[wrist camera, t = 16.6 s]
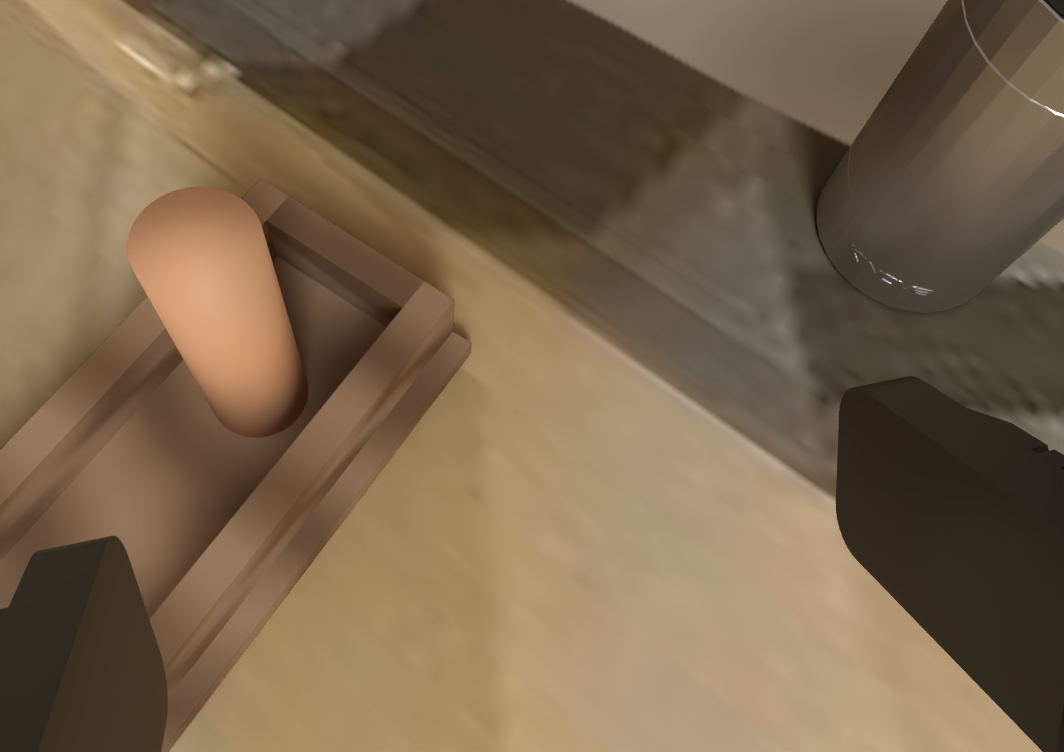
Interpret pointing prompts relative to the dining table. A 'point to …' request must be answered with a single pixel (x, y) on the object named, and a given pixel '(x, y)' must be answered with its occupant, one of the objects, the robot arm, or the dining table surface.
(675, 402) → the dining table surface
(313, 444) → the slot board
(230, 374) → the orange rounded cylinder
